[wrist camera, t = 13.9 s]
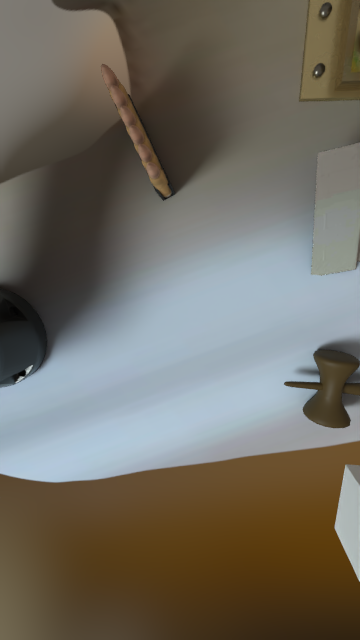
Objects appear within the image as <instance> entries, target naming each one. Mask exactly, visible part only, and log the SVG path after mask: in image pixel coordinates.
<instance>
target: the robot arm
mask: <svg viewBox="0 0 360 640" xmlns="http://www.w3.org/2000/svg"><path fill="white" fill-rule="evenodd" d="M46 346H47V341H46V333H45V329H44V326H43V324H42V321H41V319H40V317H39V316H38V314H37V313H36V311H35V310H34V309H33V308H32V307H31V305H30V304H29V303H27V302H26V301H25V300H24V299H22V298H21V297H19V296H18V295H16V294H14V293H12V292H9V291H7V290H3V289H0V388H2V387H7V386H11V385H14V384H16V383H19V382H21V381H22V380H24V379H25V378H27V377H28V376H30V375H31V374H32V373H34V372H35V371H36V370H37V369H38V367H39V366H40V365H41V363H42V361H43V359H44V356H45V353H46ZM335 530H336V532H337V534H338V536H339V538H340V541H341V543H342V545H343V547H344V549H345V551H346V553H347V556H348V558H349V560H350V562H351V564H352V566H353V568H354V570H355V573H356V575H357V577H358V579H359V581H360V466H359V465H345V471H344V477H343V482H342V488H341V494H340V500H339V505H338V512H337V517H336V523H335Z"/></svg>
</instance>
